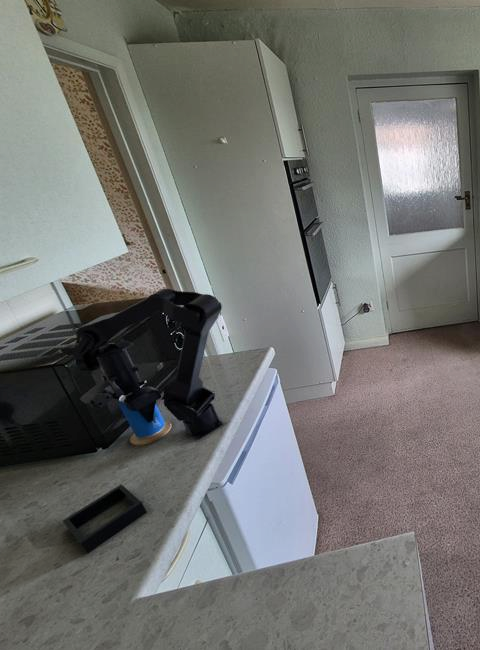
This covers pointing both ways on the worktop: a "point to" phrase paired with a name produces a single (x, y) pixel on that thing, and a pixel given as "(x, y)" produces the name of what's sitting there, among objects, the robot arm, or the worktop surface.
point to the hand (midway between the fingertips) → (144, 417)
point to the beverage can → (142, 421)
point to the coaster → (143, 441)
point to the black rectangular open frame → (111, 526)
